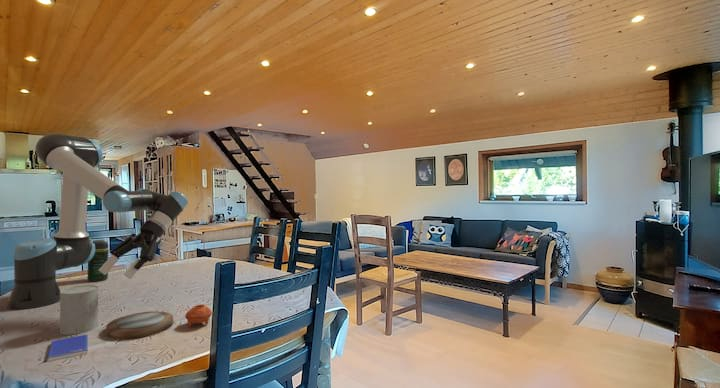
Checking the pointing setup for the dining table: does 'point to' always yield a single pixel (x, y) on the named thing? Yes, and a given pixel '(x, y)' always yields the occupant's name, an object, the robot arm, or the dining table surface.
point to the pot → (198, 315)
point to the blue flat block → (68, 347)
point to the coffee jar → (98, 261)
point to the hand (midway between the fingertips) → (114, 274)
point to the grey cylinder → (78, 309)
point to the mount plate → (139, 325)
